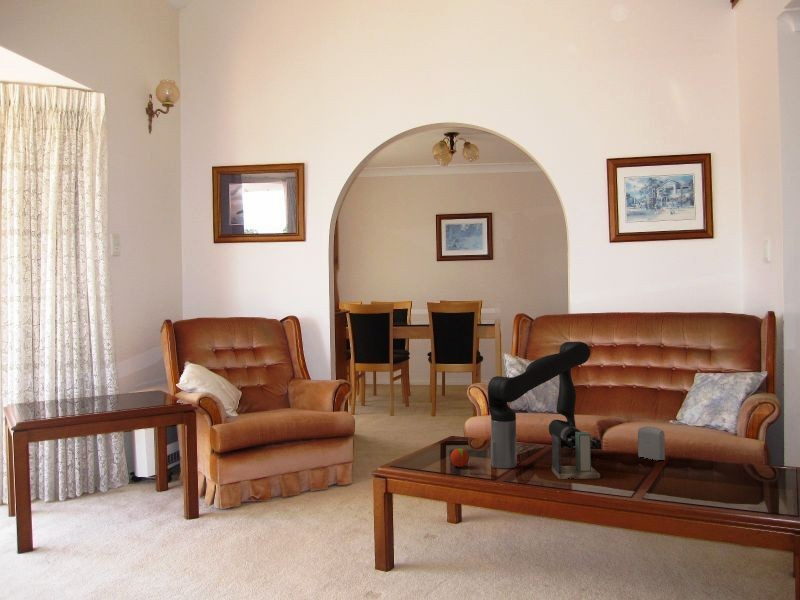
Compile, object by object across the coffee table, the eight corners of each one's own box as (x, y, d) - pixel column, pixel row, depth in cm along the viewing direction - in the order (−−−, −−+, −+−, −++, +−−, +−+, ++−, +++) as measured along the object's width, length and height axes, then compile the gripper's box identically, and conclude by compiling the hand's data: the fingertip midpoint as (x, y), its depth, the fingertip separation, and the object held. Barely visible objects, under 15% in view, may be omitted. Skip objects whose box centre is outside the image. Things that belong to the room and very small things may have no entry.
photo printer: (636, 457, 269) (635, 425, 270) (642, 455, 272) (642, 424, 272) (660, 462, 262) (660, 429, 262) (666, 460, 264) (666, 427, 264)
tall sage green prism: (579, 471, 242) (579, 434, 242) (575, 468, 247) (575, 431, 247) (591, 471, 242) (590, 434, 242) (586, 468, 247) (586, 431, 247)
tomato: (472, 469, 255) (471, 449, 255) (453, 470, 253) (453, 450, 253) (466, 464, 262) (466, 445, 262) (448, 465, 261) (448, 446, 261)
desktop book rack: (559, 478, 239) (558, 439, 239) (551, 470, 251) (551, 433, 251) (600, 478, 239) (599, 439, 239) (590, 469, 251) (589, 432, 251)
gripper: (553, 427, 260) (563, 436, 243) (591, 427, 260) (604, 435, 243) (553, 448, 260) (564, 457, 243) (591, 447, 260) (604, 457, 243)
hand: (584, 446), depth 243 cm, fingers open, 8 cm apart
